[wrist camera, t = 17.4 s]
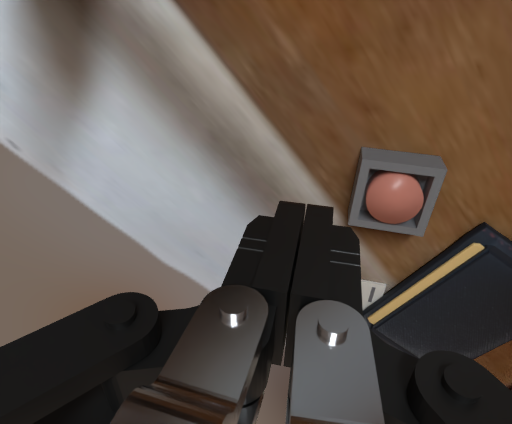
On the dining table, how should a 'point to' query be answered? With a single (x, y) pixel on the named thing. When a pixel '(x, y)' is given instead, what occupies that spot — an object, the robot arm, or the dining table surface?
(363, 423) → the robot arm
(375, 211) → the button
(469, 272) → the wallet
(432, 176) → the button housing
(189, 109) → the dining table surface
